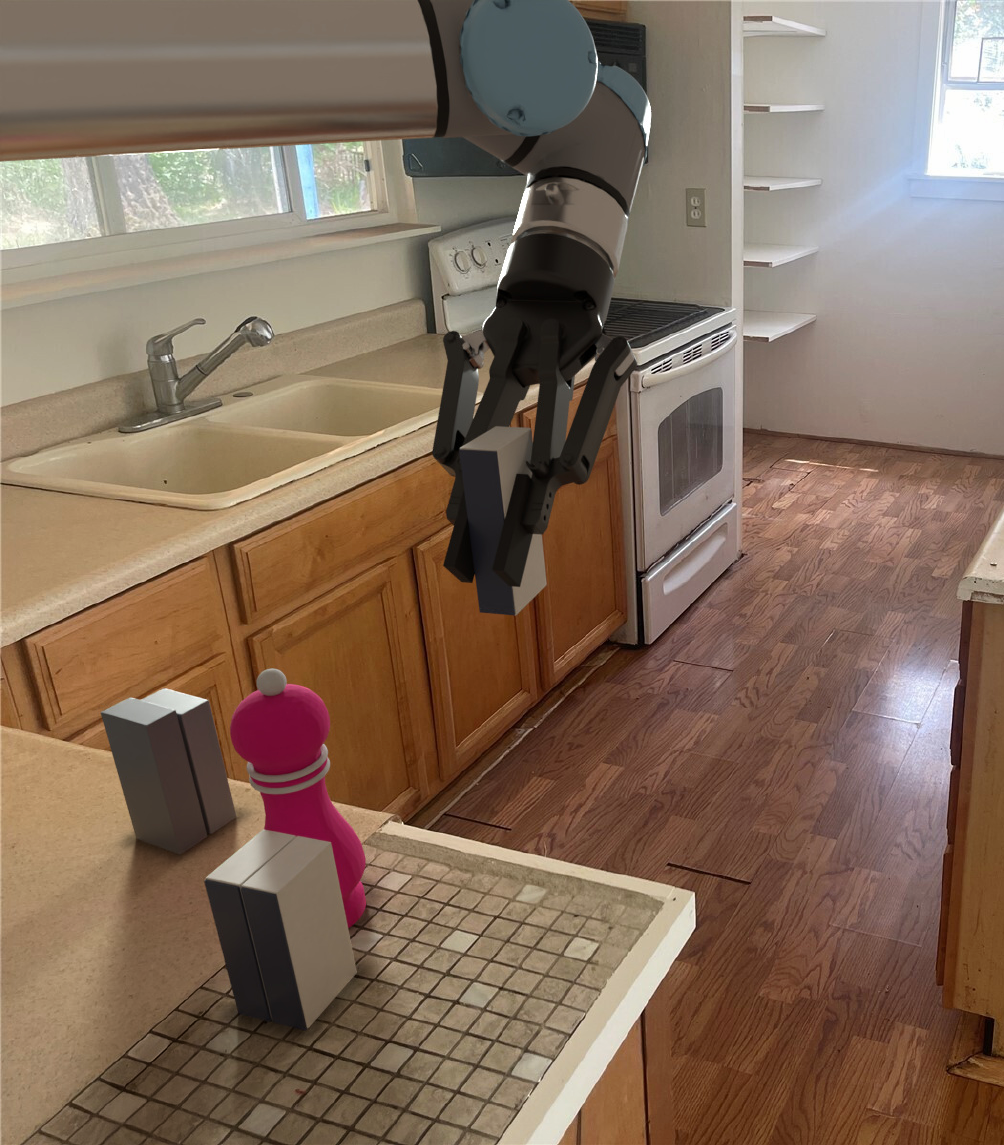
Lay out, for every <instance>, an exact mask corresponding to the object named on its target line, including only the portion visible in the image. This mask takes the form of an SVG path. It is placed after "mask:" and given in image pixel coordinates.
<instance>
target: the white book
mask: <svg viewBox="0 0 1004 1145" xmlns="http://www.w3.org/2000/svg"><path fill="white" fill-rule="evenodd" d="M532 446H533V432H532V428H531V427H521V426H520V427H518V426H509V427H501V426H496V427H494V428H492V429H491V430H489V431H487V432H486V433H484V434H482V435H480V436H479V437H477V438H475V439H474V440H472V441H470V442H469V443H467V444H465V445H464V446H462V447H460V450H459V453H460V461H461V469H462V477H463V485H464V493H465V501H466V509H467V516H468V524H469V532H470V540H471V548H472V556H473V564H474V571H475V575H474V578H475V585H476V592H477V593H476V594H477V603H478V608H479V609H478V611H479V613H482V614H492V615H493V614H494V615H505V616H517V615H518V614H520V613H521V611H522V610H523V609H524V608H525V607H526V606H527V605H528V604H530V602H531V601H533V599H535V597H537V595H538V594H539V593H540V592H541V591H542V590H543V589H544V588H545V587H546V586H548V584H547V574H546V564H545V554H544V542H543V535H540V534H533V536H532V540H531V544H530V548H529V552H528V557H527V561H526V565H525V569H524V573H523V577H522V581H521V585H520V587H513V586H508V585H507V584H506V583H505V582H504V581H503V580H502V579H501V578H500V577H499V576H498V575H497V574H496V573H495V572H494V571H493V570H492V568H493V564H494V560H495V556H496V552H497V548H498V544H499V540H500V536H501V533H502V529H503V525H504V521H505V517H506V513H507V509H508V505H509V501H510V497H511V494H512V490H513V486H514V482H515V478H516V474H528V475H529V477H530V478H531V477H532V472H531V471H530V469H529V468H528V467H527V465H526V461H528V462H529V464H530V461H531V455H532Z"/></svg>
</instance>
